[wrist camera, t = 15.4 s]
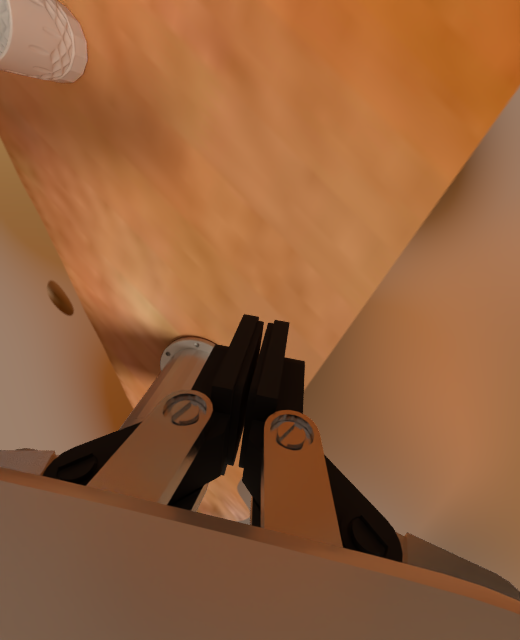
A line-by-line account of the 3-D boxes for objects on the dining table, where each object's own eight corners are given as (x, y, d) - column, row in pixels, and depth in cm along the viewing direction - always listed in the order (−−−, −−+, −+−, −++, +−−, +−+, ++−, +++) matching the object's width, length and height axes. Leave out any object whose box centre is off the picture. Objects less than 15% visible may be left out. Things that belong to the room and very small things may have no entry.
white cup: (79, 107, 34) (0, 88, 26) (16, 55, 33) (-90, 17, 24) (104, 32, 31) (22, -18, 22) (34, -29, 29) (-83, -109, 21)
